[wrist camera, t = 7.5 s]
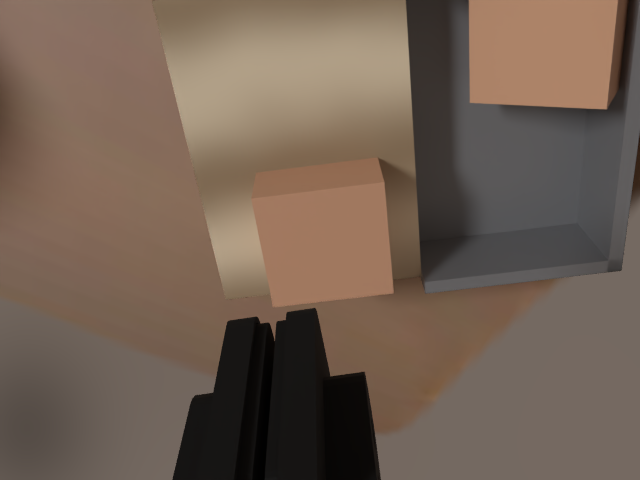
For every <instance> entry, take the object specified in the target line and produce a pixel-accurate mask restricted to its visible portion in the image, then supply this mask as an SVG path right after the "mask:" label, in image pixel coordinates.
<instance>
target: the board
mask: <svg viewBox="0 0 640 480" xmlns="http://www.w3.org/2000/svg"><path fill="white" fill-rule="evenodd" d="M152 4H153V8H154V12H155V16H156V20H157V24H158V28H159V32H160V36H161V40H162V44H163V48H164V52H165V56H166V60H167V64H168V68H169V73H170V77H171V81H172V85H173V89H174V93H175V97H176V101H177V105H178V109H179V113H180V117H181V121H182V125H183V129H184V133H185V137H186V141H187V145H188V149H189V153H190V157H191V161H192V165H193V169H194V173H195V177H196V181H197V185H198V189H199V194H200V198H201V202H202V206H203V210H204V214H205V218H206V222H207V226H208V230H209V234H210V238H211V242H212V246H213V250H214V254H215V258H216V262H217V266H218V270H219V274H220V278H221V282H222V286H223V290H224V294H225V298H226V300H227V299H236V298H244V297H253V296H261V295H269V294H270V289H269V284H268V279H267V274H266V269H265V264H264V259H263V254H262V249H261V245H260V240H259V235H258V230H257V225H256V220H255V215H254V210H253V205H252V200H251V197H252V192H253V187H254V181H255V176H256V173H258V172H266V171H274V170H282V169H290V168H297V167H305V166H313V165H321V164H329V163H337V162H344V161H352V160H360V159H368V158H376V157H378V161H379V164H380V168H381V172H382V175H383V179H384V183H385V195H386V207H387V219H388V231H389V243H390V255H391V266H392V278H393V280H397V279H405V278H414V277H422V276H421V259H420V241H419V224H418V206H417V188H416V171H415V153H414V136H413V118H412V100H411V83H410V65H409V48H408V30H407V12H406V0H153V1H152Z"/></svg>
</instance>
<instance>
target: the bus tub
mask: <svg viewBox="0 0 640 480" xmlns="http://www.w3.org/2000/svg"><path fill="white" fill-rule="evenodd" d="M406 12H407V30H408V48H409V65H410V83H411V100H412V118H413V136H414V153H415V171H416V188H417V206H418V224H419V241H420V259H421V276H422V277H421V280H422V284H423V287H424V290H425V294H426V293H434V292H443V291H451V290H460V289H469V288H477V287H486V286H494V285H503V284H512V283H520V282H529V281H537V280H546V279H554V278H563V277H572V276H580V275H588V274H597V273H606V272H613V271H621V270H622V262H623V255H624V246H625V239H626V232H627V224H628V217H629V209H630V202H631V194H632V187H633V179H634V171H635V164H636V156H637V149H638V141H639V134H640V0H629V4H628V13H627V22H626V31H625V40H624V49H623V58H622V67H621V76H620V85H619V90H618V91H617V93H616V95H615V96H614V98H613V100H612V101H611V103H610V105H609V106H608V108H607V109H586V108H566V107H545V106H524V105H504V104H483V103H470V69H469V0H406Z"/></svg>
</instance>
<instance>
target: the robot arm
mask: <svg viewBox="0 0 640 480" xmlns="http://www.w3.org/2000/svg"><path fill="white" fill-rule="evenodd" d="M173 480H381V479H380V470H379V462H378V454H377V446H376V438H375V431H374V424H373V418H372V411H371V405H370V399H369V393H368V387H367V381H366V376H365V372H360V373H353V374H345V375H338V376H331V377H330V372H329V367H328V362H327V358H326V353H325V348H324V343H323V338H322V334H321V329H320V324H319V319H318V315H317V311H316V309H315V308H312V309H305V310H298V311H292V312H287V314H286V320H283V321H277V324H276V335H275V341H274V337H273V333H272V329H271V326H270V324H269V323H262V324H260V321H259V319H258V317H251V318H244V319H237V320H230V321H228V322H227V325H226V331H225V336H224V341H223V346H222V351H221V356H220V361H219V366H218V371H217V377H216V382H215V387H214V392H213V393H209V394H202V395H195V396H194V398H193V399H192V401H191V404H190V408H189V412H188V417H187V421H186V425H185V429H184V433H183V437H182V442H181V446H180V450H179V454H178V459H177V463H176V467H175V471H174V476H173Z"/></svg>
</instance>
